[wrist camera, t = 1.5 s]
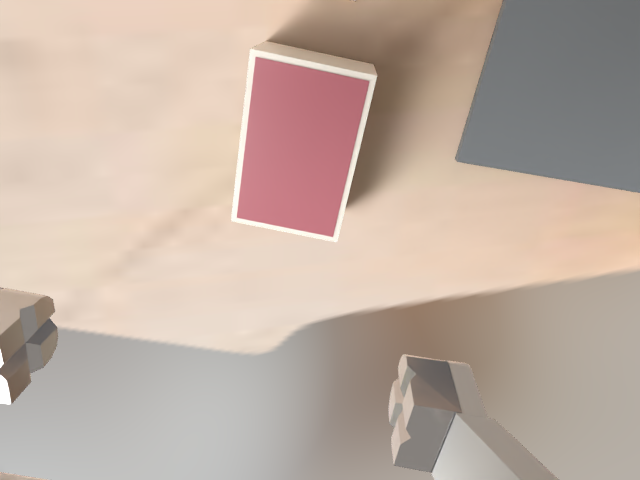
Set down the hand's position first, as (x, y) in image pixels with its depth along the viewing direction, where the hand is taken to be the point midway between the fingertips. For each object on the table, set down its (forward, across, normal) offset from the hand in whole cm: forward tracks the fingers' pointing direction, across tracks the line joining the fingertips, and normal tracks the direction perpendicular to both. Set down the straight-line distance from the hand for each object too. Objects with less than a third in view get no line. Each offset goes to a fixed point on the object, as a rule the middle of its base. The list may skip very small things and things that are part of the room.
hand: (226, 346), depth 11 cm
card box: (+19, 0, -1) cm, 19 cm away
